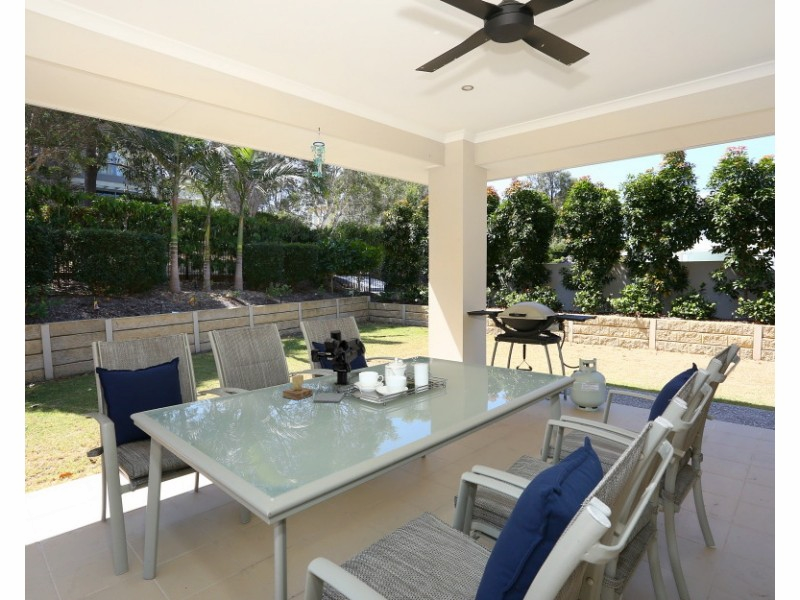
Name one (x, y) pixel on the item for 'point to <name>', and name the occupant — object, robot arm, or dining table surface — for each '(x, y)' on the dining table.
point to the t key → (297, 382)
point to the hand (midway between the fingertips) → (321, 361)
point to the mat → (328, 398)
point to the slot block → (298, 393)
